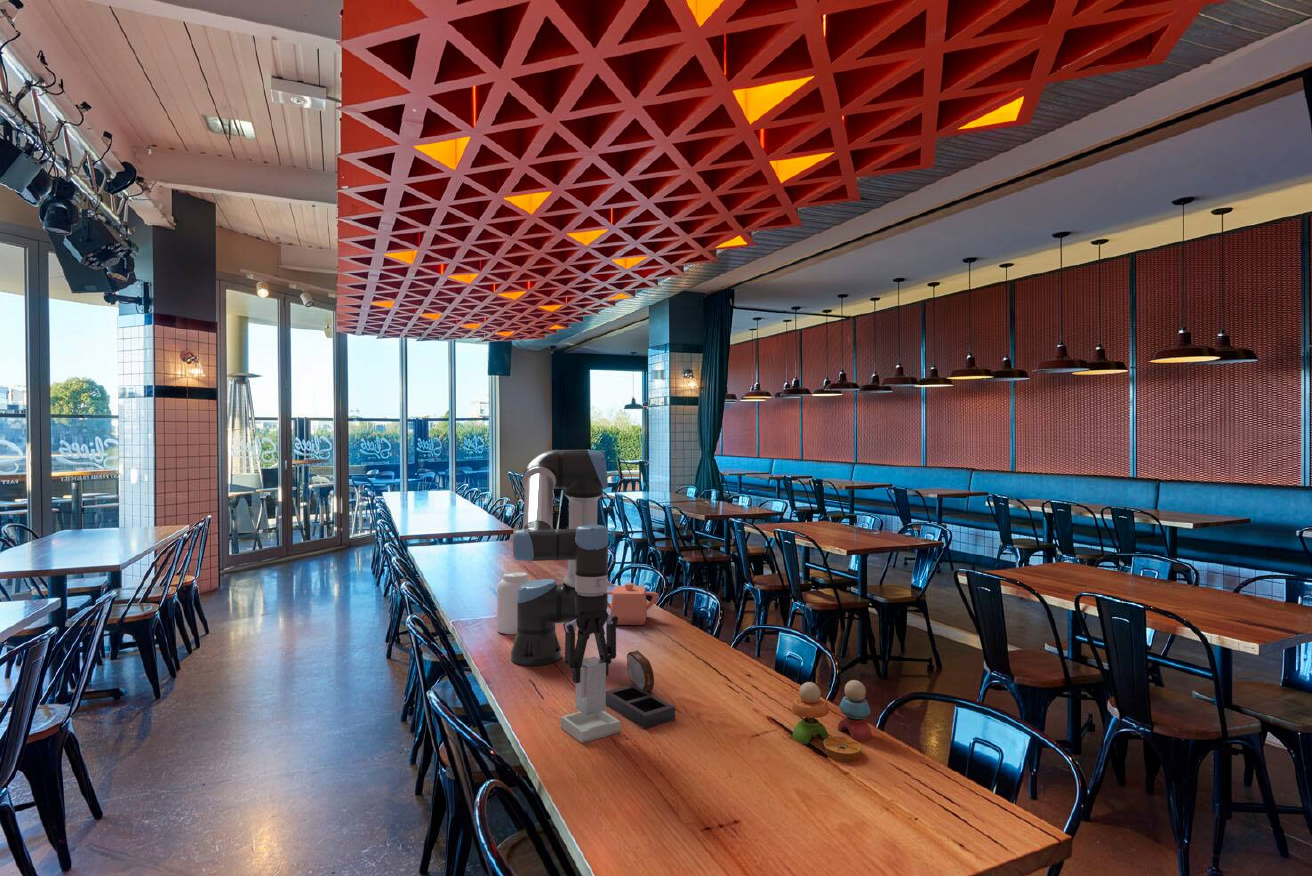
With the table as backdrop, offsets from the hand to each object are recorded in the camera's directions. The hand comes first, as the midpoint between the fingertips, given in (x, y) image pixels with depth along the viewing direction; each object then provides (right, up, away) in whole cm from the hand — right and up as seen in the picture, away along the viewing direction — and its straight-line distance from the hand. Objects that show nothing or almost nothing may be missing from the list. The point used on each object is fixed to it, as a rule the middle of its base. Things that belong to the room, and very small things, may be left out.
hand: (590, 693), depth 151 cm
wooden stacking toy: (+57, -9, -5) cm, 58 cm away
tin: (+11, -9, +28) cm, 31 cm away
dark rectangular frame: (+11, -9, +11) cm, 17 cm away
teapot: (+5, -9, +94) cm, 95 cm away
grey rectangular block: (0, -4, 0) cm, 4 cm away
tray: (0, -8, 0) cm, 8 cm away
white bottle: (-34, -9, +79) cm, 87 cm away
